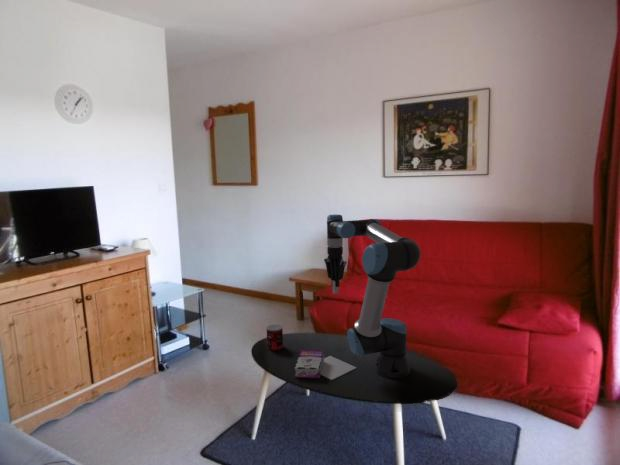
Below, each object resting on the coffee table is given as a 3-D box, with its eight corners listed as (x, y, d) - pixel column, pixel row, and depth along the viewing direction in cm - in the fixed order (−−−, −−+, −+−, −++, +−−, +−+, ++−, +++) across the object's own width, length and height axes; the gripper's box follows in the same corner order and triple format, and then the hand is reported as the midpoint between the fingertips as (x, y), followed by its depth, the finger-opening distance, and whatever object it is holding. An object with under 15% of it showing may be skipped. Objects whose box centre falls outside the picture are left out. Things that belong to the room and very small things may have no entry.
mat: (356, 368, 198) (356, 367, 198) (331, 380, 188) (331, 379, 188) (330, 356, 211) (330, 355, 211) (305, 367, 200) (305, 366, 200)
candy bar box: (301, 359, 207) (294, 377, 191) (300, 349, 206) (293, 367, 190) (324, 360, 205) (319, 378, 189) (324, 350, 204) (319, 368, 188)
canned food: (267, 345, 225) (266, 324, 223) (282, 344, 226) (282, 324, 224) (267, 351, 217) (266, 330, 216) (283, 350, 218) (282, 329, 217)
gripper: (350, 246, 212) (350, 293, 216) (330, 243, 221) (330, 288, 225) (340, 248, 207) (340, 297, 210) (320, 245, 216) (320, 292, 219)
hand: (335, 292), depth 217 cm, fingers closed
